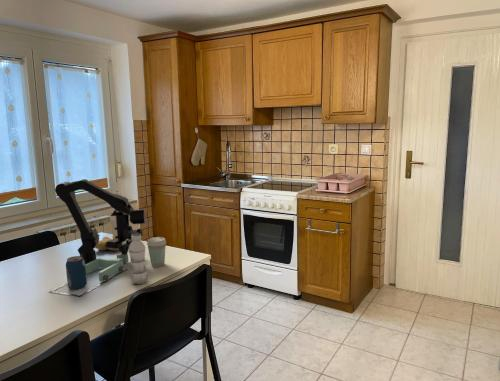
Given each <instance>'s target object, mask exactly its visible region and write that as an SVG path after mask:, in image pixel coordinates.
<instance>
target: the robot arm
mask: <svg viewBox="0 0 500 381" xmlns="http://www.w3.org/2000/svg"><path fill="white" fill-rule="evenodd" d="M79 190H84V191H85V192H87V193H89V194H91V195H92V196H95V197H97V198H98V199H101V200H102V201H105V202H106V203H107V204H108V205H109V206H110V207H111V208H113V209H114V210H113V212H112V213H111V214H110V216H111V217H115V224H116V225H115V227H114V230H115V231H116V235H117V236H115V238H117V239H118V240H115V239H113V238H110V239H111V240H109V241H107V242H106V248H115V249H116V248H118V249H119V250H118V251H119V253H120V254H129V249H128V248H129V245H130V244H131V242H132V240H131V235H133V234H141V237H143V236H144V234H143V229H142V228H140V227H139V228H138V229H133V226H132V225H145V224H146V223H147V215H146V211H145V209H144V208H141V209H139V208H138V209H134V208H133V206H132V205H131V204H130V202H129V199H128V198H127V197H125V196H123V195H121V194H115V193H112V192H110V191H108V190H107V189H104V188H102V187H100V186H98V184H97V185H96V184H94V183H93V182H91V181H90V180H88V179H87V178H83V179H81V180H80V179H79V180H76V181H72V182H70V181H63V182H61V183H59V184H57V185H56V187H55V189H54V191H55V194H56V196H58V198H59V199H60V201H62V202H64V204H65V205H66V207H67V209H68V211H69V213H70V215H71V217H72V219H73V221H74V222H75V224H76V226H77V229H78V230H79V233H80V241H81V245H80V247H79V248H77V252H78V254H79V256H82V257H83V259H84V261H85V264H87V263H89V262H92V261H94V260H96V259H97V254H96V250H95V249H96V248H95V246H96V245H97V243H98V242H99V241H100V234H99V233H98V231H97V228H94V229H93V228H92V227H91V226H90V225H89V223H88V220H87V219H86V216H85V215H84V213H83V211H82V209H81V207H80V205H79V203H78V201H77V199H76V191H79ZM130 224H132V225H130Z"/></svg>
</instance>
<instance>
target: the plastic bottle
mask: <svg viewBox="0 0 500 381" xmlns="http://www.w3.org/2000/svg"><path fill="white" fill-rule="evenodd" d="M131 240H132V242H131V244H130V245H129V248H128V249H129V250H128V255H129V259H130V266H131V267H130V271H131V272H130V281H131V283H132V284H134V285H142V284H145V283H146V282H147V281H148V273H147V268H146V259H145V258H146V245H145V243H144V242H143V241H142V236H141V234H133V235H131Z"/></svg>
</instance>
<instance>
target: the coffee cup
mask: <svg viewBox="0 0 500 381" xmlns="http://www.w3.org/2000/svg"><path fill="white" fill-rule="evenodd" d="M166 244H167V240H166V238H165V237H162V236H156V237H155V236H154V237H150V238H148V239H147V244H146V245H147V249H148V255H149V260H150V265H151V267H153V268H161V267H163V266H165V263H166V262H165V261H166Z"/></svg>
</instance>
